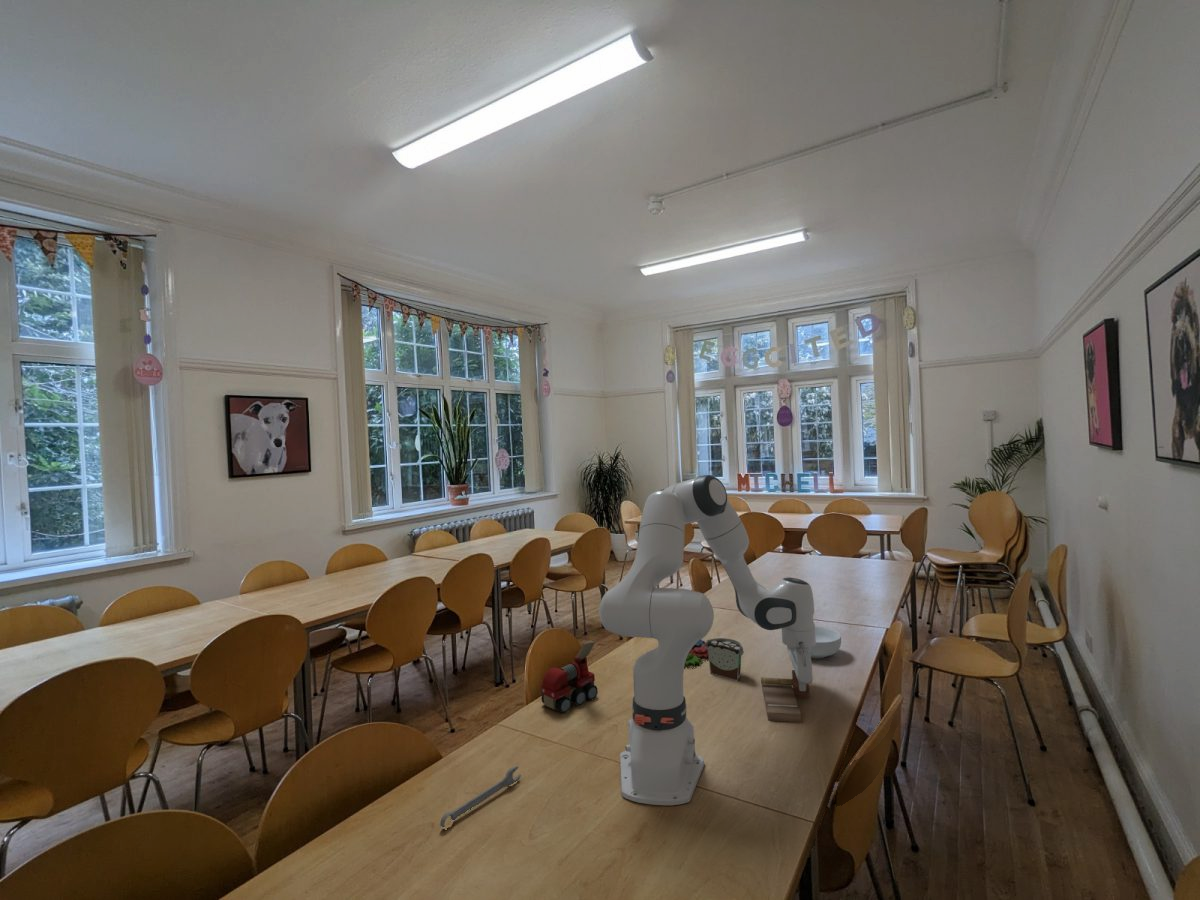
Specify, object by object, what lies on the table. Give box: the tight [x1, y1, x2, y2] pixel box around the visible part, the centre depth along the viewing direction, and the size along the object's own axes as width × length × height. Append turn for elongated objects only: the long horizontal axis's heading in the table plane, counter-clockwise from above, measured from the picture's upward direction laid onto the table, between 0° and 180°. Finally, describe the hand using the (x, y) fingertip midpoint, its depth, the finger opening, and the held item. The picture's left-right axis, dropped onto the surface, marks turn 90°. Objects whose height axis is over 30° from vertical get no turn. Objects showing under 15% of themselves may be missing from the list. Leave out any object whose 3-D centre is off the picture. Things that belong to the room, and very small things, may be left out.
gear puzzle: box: [684, 639, 709, 669], centre depth 184 cm, size 31×16×4 cm, turn 138°
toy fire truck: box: [540, 640, 599, 714], centre depth 155 cm, size 11×16×18 cm
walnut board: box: [761, 683, 802, 723], centre depth 150 cm, size 20×8×2 cm, turn 168°
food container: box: [705, 637, 745, 682], centre depth 170 cm, size 12×6×10 cm, turn 47°
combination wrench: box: [439, 765, 522, 827], centre depth 112 cm, size 4×1×20 cm
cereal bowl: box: [809, 625, 842, 659], centre depth 183 cm, size 17×17×7 cm
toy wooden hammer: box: [760, 669, 810, 699], centre depth 155 cm, size 4×13×6 cm, turn 75°
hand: (800, 686), depth 154 cm, fingers closed on toy wooden hammer, 4 cm apart
